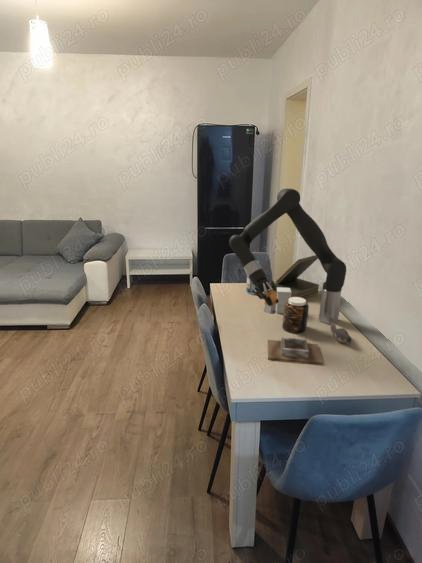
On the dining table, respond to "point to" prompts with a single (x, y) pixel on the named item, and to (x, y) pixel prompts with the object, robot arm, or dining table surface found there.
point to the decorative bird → (339, 332)
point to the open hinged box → (298, 285)
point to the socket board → (294, 351)
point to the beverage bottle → (250, 285)
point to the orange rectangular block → (273, 298)
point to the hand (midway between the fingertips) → (274, 303)
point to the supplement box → (282, 298)
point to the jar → (295, 315)
